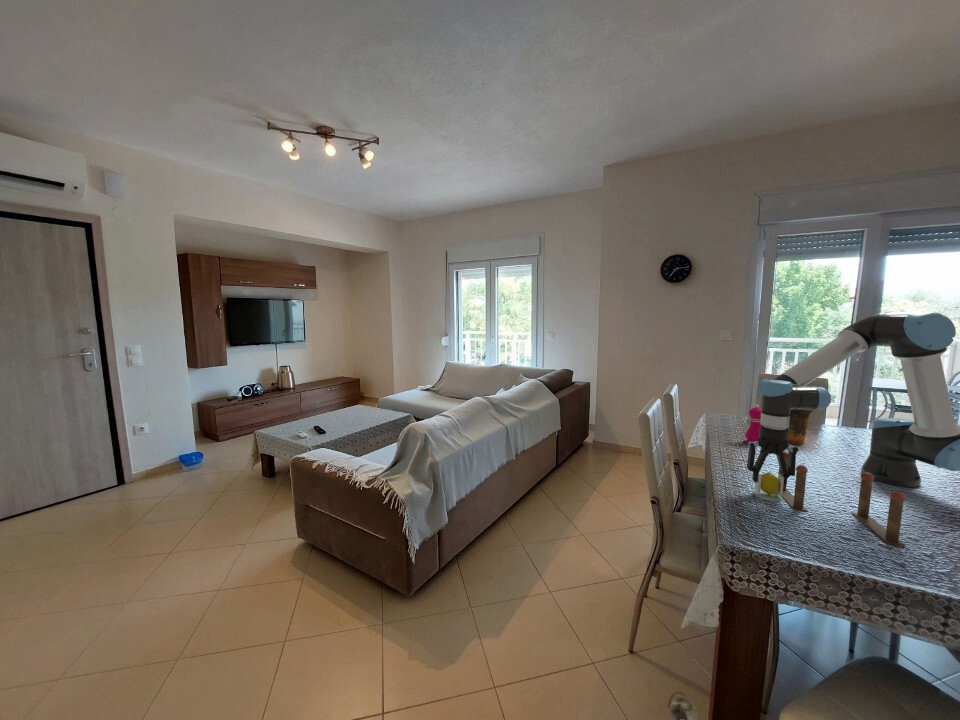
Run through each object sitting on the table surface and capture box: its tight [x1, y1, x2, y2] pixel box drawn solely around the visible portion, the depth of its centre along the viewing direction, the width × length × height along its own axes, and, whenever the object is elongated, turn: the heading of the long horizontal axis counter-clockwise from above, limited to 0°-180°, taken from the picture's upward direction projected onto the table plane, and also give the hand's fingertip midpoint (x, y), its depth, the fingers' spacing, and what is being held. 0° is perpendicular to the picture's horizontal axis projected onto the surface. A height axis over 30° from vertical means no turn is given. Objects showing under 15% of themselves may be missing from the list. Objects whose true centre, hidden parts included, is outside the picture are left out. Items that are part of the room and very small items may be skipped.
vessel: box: [787, 409, 814, 446], centre depth 180 cm, size 14×14×20 cm
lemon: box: [760, 472, 779, 495], centre depth 127 cm, size 6×6×8 cm
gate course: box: [778, 450, 906, 548], centre depth 116 cm, size 20×29×15 cm
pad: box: [753, 489, 784, 503], centre depth 127 cm, size 8×8×1 cm
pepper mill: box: [745, 404, 762, 444], centre depth 178 cm, size 7×7×20 cm
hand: (768, 492), depth 127 cm, fingers closed on lemon, 5 cm apart
